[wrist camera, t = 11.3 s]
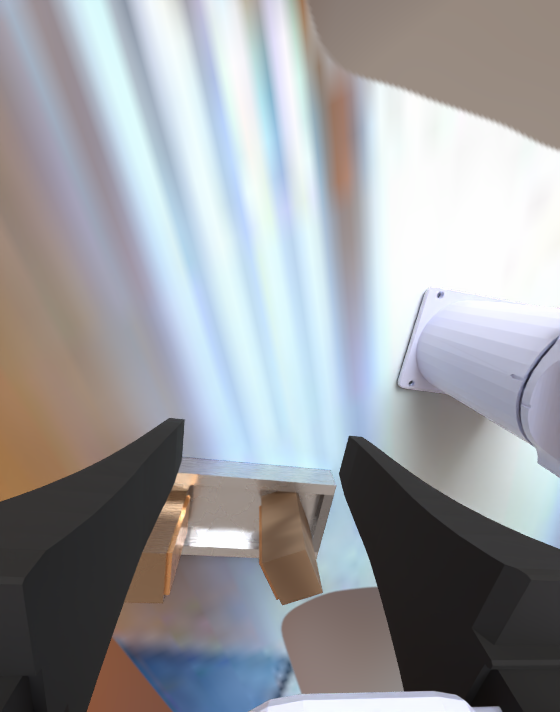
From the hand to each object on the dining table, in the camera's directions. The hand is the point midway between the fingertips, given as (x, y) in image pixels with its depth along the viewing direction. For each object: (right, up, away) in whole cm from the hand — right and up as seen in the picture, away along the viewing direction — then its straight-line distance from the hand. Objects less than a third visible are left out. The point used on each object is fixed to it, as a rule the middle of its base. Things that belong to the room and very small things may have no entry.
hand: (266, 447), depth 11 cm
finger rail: (-3, -9, +12) cm, 16 cm away
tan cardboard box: (+1, -10, +12) cm, 15 cm away
